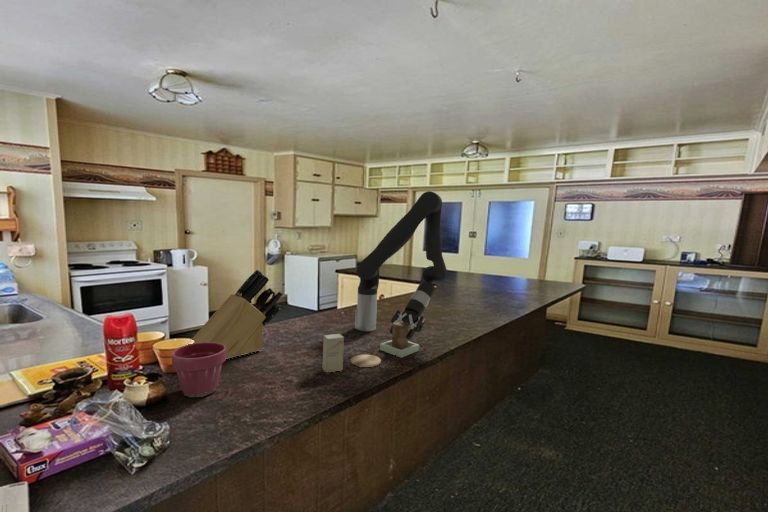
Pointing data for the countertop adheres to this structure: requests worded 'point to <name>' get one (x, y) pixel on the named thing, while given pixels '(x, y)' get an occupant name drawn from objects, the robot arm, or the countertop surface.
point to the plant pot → (199, 366)
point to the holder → (400, 353)
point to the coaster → (366, 360)
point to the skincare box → (333, 352)
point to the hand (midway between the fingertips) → (399, 335)
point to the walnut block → (400, 335)
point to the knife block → (242, 318)
